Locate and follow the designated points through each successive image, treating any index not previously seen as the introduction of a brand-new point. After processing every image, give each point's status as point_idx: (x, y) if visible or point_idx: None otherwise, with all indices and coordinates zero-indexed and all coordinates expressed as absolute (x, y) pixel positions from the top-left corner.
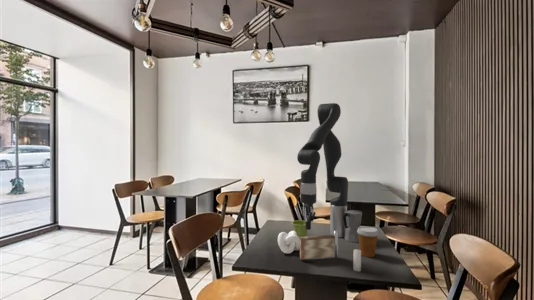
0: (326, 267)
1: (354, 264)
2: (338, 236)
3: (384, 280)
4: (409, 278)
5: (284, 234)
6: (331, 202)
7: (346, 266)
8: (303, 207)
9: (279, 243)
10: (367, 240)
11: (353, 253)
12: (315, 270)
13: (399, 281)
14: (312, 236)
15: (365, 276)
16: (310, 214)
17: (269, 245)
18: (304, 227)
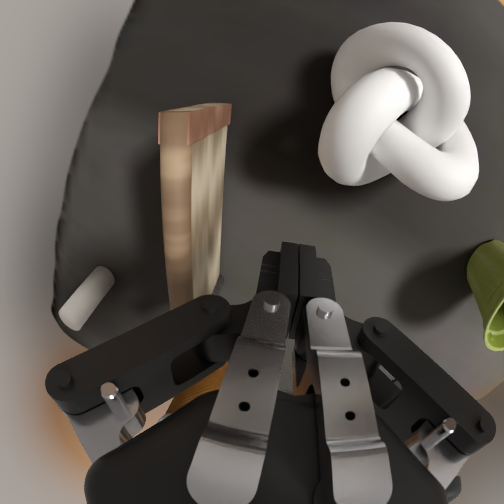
0: (126, 189)
1: (88, 278)
2: (395, 383)
3: (57, 291)
4: (74, 337)
5: (432, 80)
6: (446, 488)
7: (128, 263)
8: (353, 490)
9: (375, 24)
10: (172, 402)
11: (74, 303)
12: (108, 133)
13: (58, 312)
14: (168, 222)
15: (69, 268)
16: (58, 365)
17: (484, 65)
18: (487, 308)
